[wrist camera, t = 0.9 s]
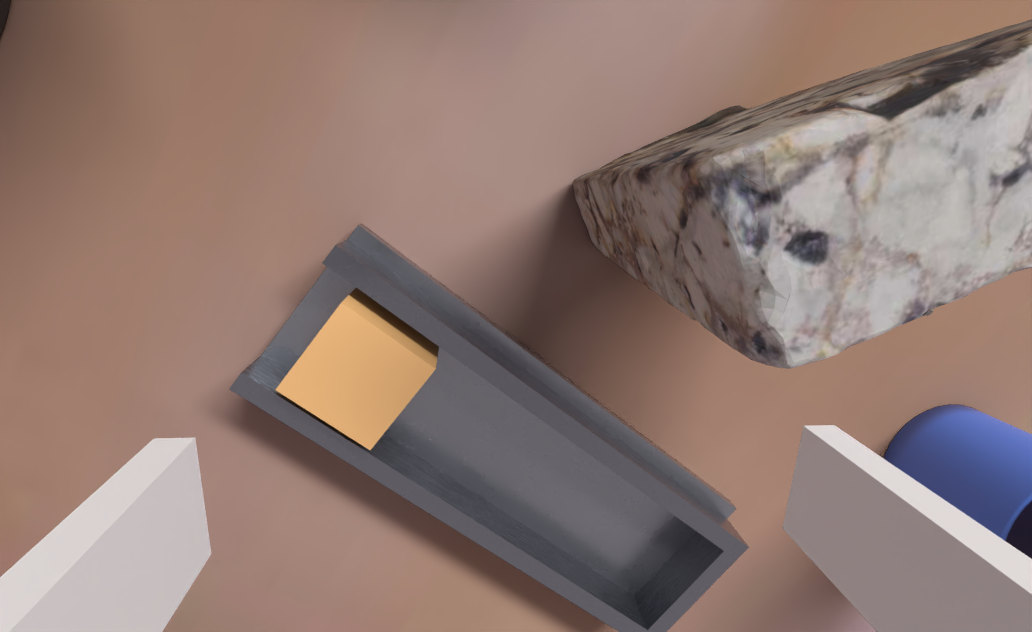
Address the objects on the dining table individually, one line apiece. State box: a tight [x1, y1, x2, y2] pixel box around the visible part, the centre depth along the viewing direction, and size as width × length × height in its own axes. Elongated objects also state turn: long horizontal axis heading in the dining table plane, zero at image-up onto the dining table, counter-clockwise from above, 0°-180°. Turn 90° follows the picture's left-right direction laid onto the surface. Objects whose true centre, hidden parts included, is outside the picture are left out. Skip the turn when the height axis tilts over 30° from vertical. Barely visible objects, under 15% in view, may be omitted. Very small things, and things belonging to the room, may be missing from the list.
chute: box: [230, 224, 749, 632], centre depth 33 cm, size 32×12×4 cm, turn 51°
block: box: [276, 288, 439, 450], centre depth 30 cm, size 6×6×4 cm
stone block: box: [573, 20, 1032, 369], centre depth 22 cm, size 13×7×20 cm, turn 118°
